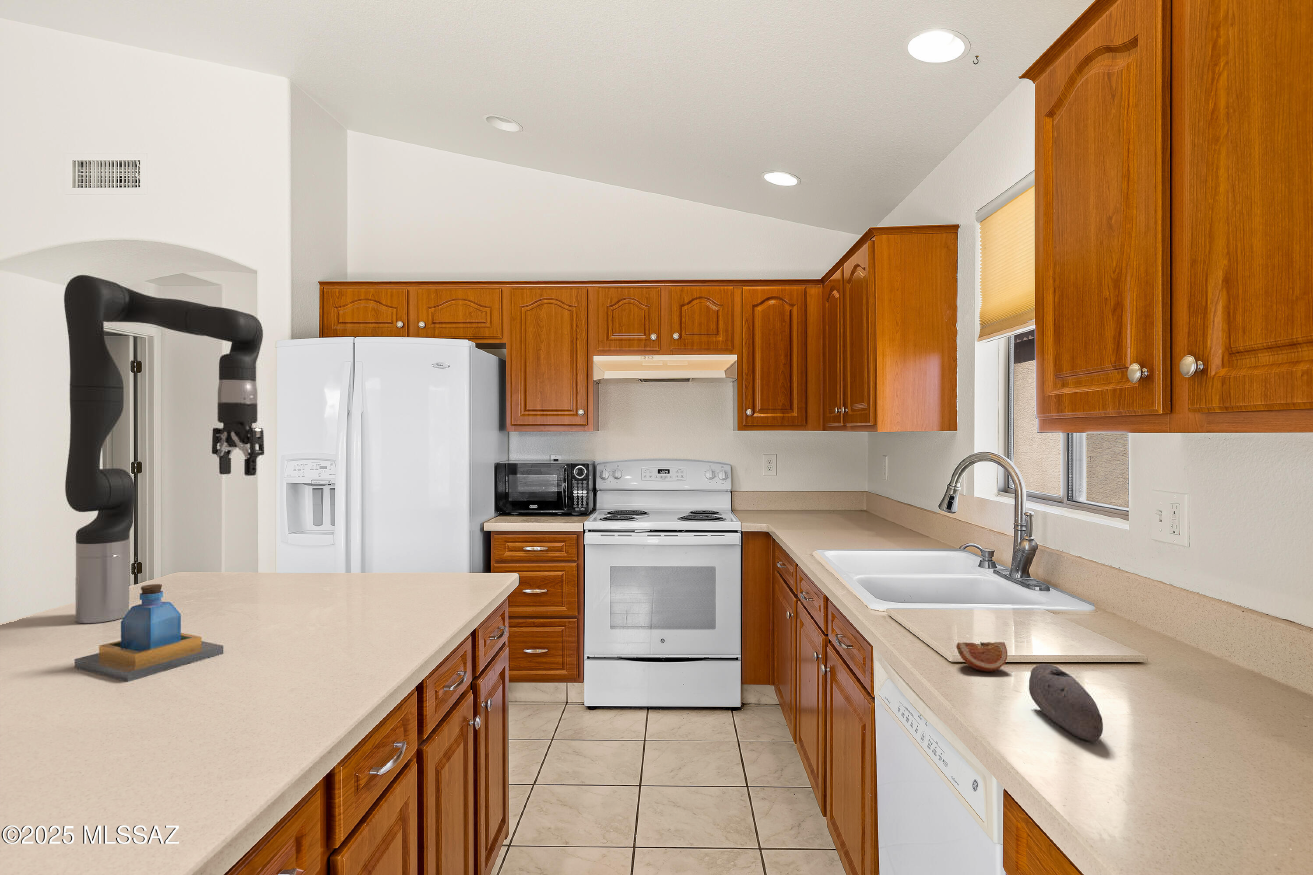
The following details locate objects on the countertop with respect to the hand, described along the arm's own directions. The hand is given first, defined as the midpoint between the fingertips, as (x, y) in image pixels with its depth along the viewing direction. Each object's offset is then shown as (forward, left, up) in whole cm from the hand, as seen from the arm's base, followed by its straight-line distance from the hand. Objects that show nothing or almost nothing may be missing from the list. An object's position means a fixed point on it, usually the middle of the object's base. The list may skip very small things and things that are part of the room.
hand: (237, 474), depth 150 cm
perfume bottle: (+12, -24, -31) cm, 41 cm away
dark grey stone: (+160, +15, -32) cm, 164 cm away
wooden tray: (+12, -24, -32) cm, 42 cm away
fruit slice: (+149, +36, -32) cm, 157 cm away
